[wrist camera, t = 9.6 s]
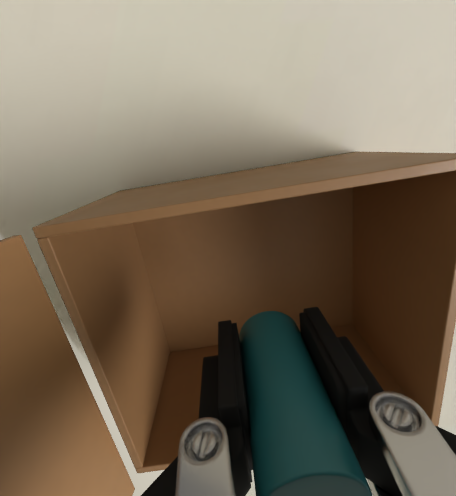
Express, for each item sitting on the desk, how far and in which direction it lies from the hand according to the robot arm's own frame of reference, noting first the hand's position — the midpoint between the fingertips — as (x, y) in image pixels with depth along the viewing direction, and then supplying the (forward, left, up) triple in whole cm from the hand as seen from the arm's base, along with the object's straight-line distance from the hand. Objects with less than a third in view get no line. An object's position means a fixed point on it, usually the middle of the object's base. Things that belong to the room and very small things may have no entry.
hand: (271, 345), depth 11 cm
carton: (0, 0, -8) cm, 8 cm away
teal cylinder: (0, 0, -1) cm, 1 cm away
